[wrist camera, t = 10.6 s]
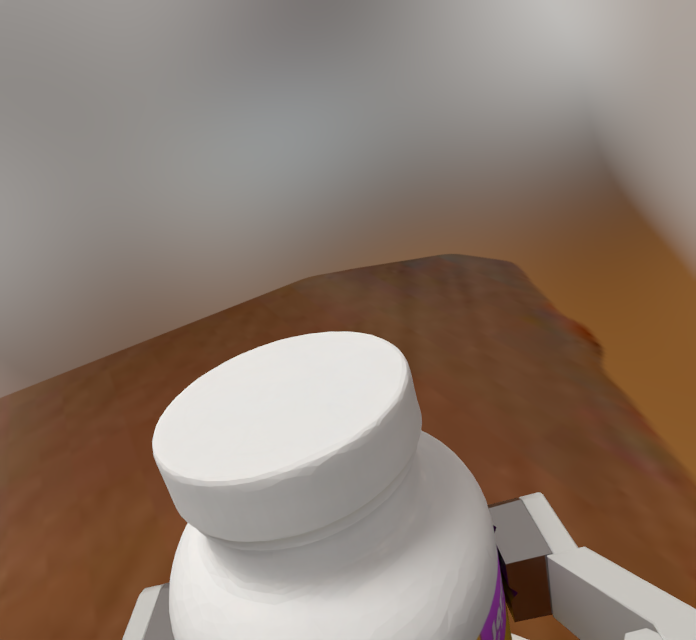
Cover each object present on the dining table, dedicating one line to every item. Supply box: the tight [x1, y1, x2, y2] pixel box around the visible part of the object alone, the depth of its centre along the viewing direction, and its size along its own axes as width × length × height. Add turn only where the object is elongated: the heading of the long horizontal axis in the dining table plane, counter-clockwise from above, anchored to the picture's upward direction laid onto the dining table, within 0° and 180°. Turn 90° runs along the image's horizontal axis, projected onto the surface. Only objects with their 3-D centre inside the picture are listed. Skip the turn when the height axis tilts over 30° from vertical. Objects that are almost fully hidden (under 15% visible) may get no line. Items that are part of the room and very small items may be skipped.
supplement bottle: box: [152, 331, 512, 640], centre depth 11 cm, size 7×7×13 cm
